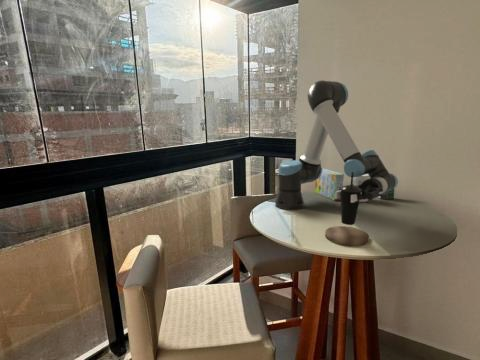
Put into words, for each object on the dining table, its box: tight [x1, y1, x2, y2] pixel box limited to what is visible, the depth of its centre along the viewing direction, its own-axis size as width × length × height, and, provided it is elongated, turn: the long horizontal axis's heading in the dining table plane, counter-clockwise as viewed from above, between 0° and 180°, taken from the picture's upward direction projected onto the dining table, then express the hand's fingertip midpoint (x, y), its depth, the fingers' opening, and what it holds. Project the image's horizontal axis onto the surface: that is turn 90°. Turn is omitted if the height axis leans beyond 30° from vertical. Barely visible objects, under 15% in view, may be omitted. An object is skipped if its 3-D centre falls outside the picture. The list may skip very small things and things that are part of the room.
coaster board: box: [324, 225, 370, 247], centre depth 114 cm, size 16×16×2 cm
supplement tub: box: [353, 174, 371, 203], centre depth 162 cm, size 10×10×15 cm
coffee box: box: [377, 188, 395, 200], centre depth 164 cm, size 8×3×13 cm, turn 92°
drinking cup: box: [340, 172, 362, 226], centre depth 110 cm, size 8×8×20 cm
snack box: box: [314, 167, 345, 202], centre depth 172 cm, size 21×6×15 cm, turn 17°
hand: (343, 197), depth 108 cm, fingers closed on drinking cup, 6 cm apart
